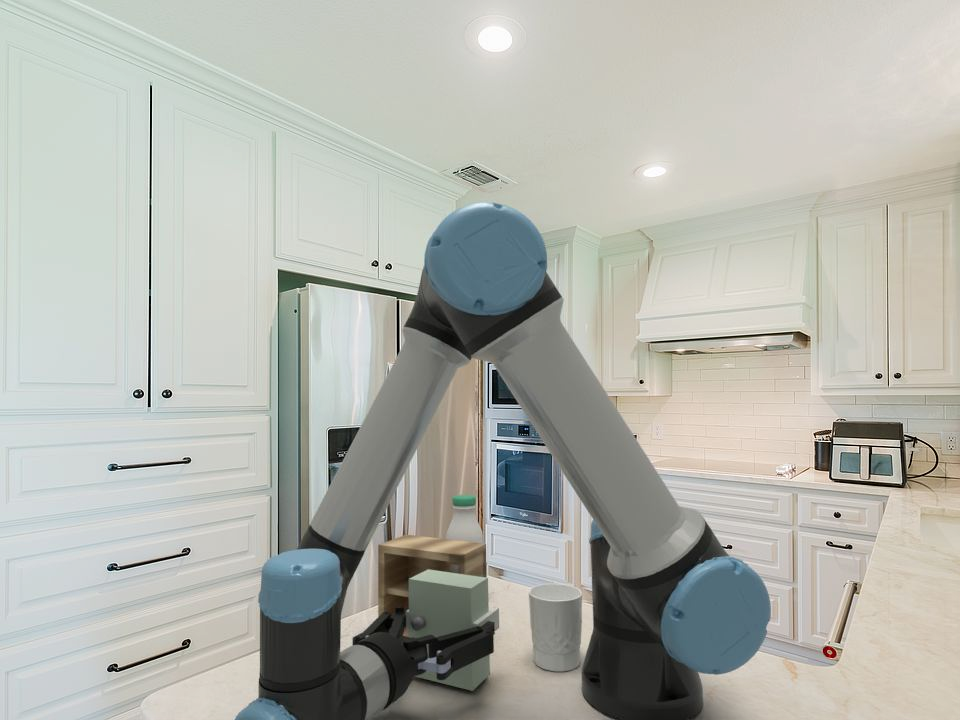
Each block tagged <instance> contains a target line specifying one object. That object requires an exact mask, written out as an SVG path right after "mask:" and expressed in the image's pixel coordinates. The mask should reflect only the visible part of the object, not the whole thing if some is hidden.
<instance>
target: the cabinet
mask: <svg viewBox="0 0 960 720" xmlns="http://www.w3.org/2000/svg"><path fill="white" fill-rule="evenodd" d="M377 548H378V549H377V550H378V551H377V552H378V553H377V555H378V556H377V557H378V558H377V560H378V561H377V565H378V566H377V568H378V569H377V570H378V572H377V575H378V576H377V585H378V586H377V594H378V595H377V599H378V600H377V605H378V606H377V609H378V610H377V613H378V614H377V616H378V617H379V616H380V615H381V614H382V613H383V612H385V611H389V612H391V615H395V608H396V607H398V606H403V607H404V612H405V611H407V610H408V609H409V579H410V578H412V577H414V576H416V575H418V574H420V573H422V572H424V571H426V570H428V569H429V570H436V571H443V572H450V573H457V574H464V575H471V576H478V577H485V578H488V577H487V575H488V574H487V543H485V542H484V543H476V542H467V541H458V540H449V539H446V538H440V537H432V536H431V537H429V536H423V535H422V536H421V535H415V534H414V535H412V534H404V535H401V536H399V537H395V538H393V539H390V540H388V541H385V542H384V541H383V542H382V543H379V544H377ZM378 617H377V618H378ZM403 636H406V637H409V631H406V627H404V634H403Z"/></svg>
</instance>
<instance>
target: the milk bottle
mask: <svg viewBox="0 0 960 720" xmlns="http://www.w3.org/2000/svg"><path fill="white" fill-rule="evenodd" d="M476 503H477V497H476V496H475V495H473V494H458V495H454V496H452V508H453V515H452V518H451V521H450V524H449V526H448V528H447V532H446V534H445V539H449V540H458V541H467V542H476V543H484V544H485V539H484V534H483V531H482V528H481V526H480V524H479V521H478V518H477V515H476V511H475V510H476V509H475V508H477V507H476V506H477V505H476Z"/></svg>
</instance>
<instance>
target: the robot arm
mask: <svg viewBox="0 0 960 720" xmlns="http://www.w3.org/2000/svg"><path fill="white" fill-rule="evenodd" d="M423 259H424V260H423V261H424V262H423V263H424V265H423V268H422V271H421V276H420V281H419V285H418V289H417V293H416V297H415V300H414V303H413V305H412V309H411V311H410V313H409V315H408V318H407V319H406V322H405V323H404V325H403V328H401V329H402V334H403V337H404V343H403V344H402V346H401V349H400V350H399V352H398V353H397V356H396V358H395V359H394V362H393V364H392V365H391V368H390V370H388V371H389V372H388V373H387V375H386V377H385V379H384V381H383V383H382V385H381V387H380V389H379V391H378V392H377V395H375V398H374V400H373V402H372V404H371V406H370V408H369V410H368V412H367V414H366V416H365V417H364V419H363V421H362V424H361V425H360V427H359V429H358V431H357V433H356V434H355V437H354V439H353V441H352V442H351V443H350V444H351V445H350V446H349V448H348V450H347V452H346V453H345V456H344V458H342V459H343V460H342V462H341V464H340V466H339V467H338V470H337V472H336V473H335V475H334V477H333V479H332V481H331V483H330V484H329V487H328V488H327V491H326V492H325V494H324V496H323V498H322V500H321V502H320V504H319V506H318V508H317V510H316V512H315V513H314V515H313V517H312V519H311V521H310V524H309V526H308V527H307V529H306V530H305V532H304V535H303V536H302V538H301V540H300V542H299V544H298V546H297V548H296V549H293V550H288V551H284V552H280V553H279V554H278V555H273V556H271V557H269V559H267V560H266V561H265V563H264V564H263V566H262V568H261V574H260V575H261V579H260V591H259V593H258V594H257V595H258V597H257V598H258V599H257V600H258V601H257V602H258V604H259V606H258V607H259V677H258V696H257V698H256V699H255V700H253V701H251V702H249V703H248V705H247V706H246V707H244V708H243V709H241V711H240V712H238V714H237V715H236V716H235V718H234V720H373V719H374V718H375V717H377V716H378V715H379V714H380V713H381V712H383V711H385V710H386V709H387V708H389V707H390V706H392V705H393V704H394V703H395V702H396V701H398V700H399V699H400V698H401V697H403V696H404V694H405V693H406V692H407V691H408V688H409V687H410V686H411V683H412V681H413V680H414V678H416V677H415V676H417V675H421V674H423V673H425V672H426V671H427V670H429V671H434V672H436V674H437V679H438V680H445V679H447V678H448V677H449V676H450V675H451V674H452V673H453V672H455V671H457V670H459V669H461V668H463V667H465V666H467V665H469V664H471V663H473V662H475V661H477V660H479V659H481V658H483V657H485V656H487V655H492V654H494V652H495V649H494V648H495V647H494V645H495V644H494V643H495V642H494V641H495V639H494V635H495V634H496V633H495V632H497V631H498V630H499V629H500V608H499V607H493V608H491V609H490V610H489V612H487V613H486V614H485V615H483V616H482V617H481V618H479V619H478V620H476V621H475V622H474V623H472V624H473V628H469V629H465V630H462V631H458V632H454V633H450V634H447V635H443V636H439V637H435V636H433V635H427V636H423V637H419V638H413V637H411V638H410V637H406V636H403V634H404V627H406V631H409V609H408V610H407V611H405V612H404V607H403V606H398V607H396V608H395V615H391V612H389V611H385V612H383V613H382V614H381V615H380V616H379V617H377V618H376V619H375V620H374V621H373V622H372V623H371V624H370V625H369V626H368V627H367V628H366V629H365V630H364V631H363V632H361V633H358V634H356V635H355V636H353V637H352V645H351V646H348V647H346V648H345V649H343V650H341V633H342V632H341V631H342V630H341V627H342V625H341V624H342V612H343V609H344V603H345V601H346V596H347V592H348V591H347V590H348V588H349V585H350V584H351V581H352V579H353V577H354V575H355V573H356V571H357V569H358V568H359V565H360V563H361V561H362V560H363V557H364V555H365V552H366V550H367V549H368V546H369V544H370V543H371V541H372V538H373V536H374V534H375V533H376V530H377V528H378V526H379V525H380V523H381V521H382V519H383V517H384V514H385V513H386V511H387V509H388V507H389V506H390V502H391V501H392V498H393V497H394V496H395V495H394V494H395V493H396V491H397V489H398V487H399V485H400V483H401V481H402V480H403V477H404V476H405V473H406V472H407V469H408V467H409V466H410V464H411V461H412V459H413V458H414V456H415V454H416V451H417V450H418V448H419V446H420V444H421V443H422V439H423V438H424V436H425V434H426V432H427V430H428V428H429V427H430V424H431V422H432V420H433V418H434V416H435V414H436V412H437V410H438V409H439V406H440V405H441V402H442V400H443V398H444V397H445V394H446V392H447V390H448V389H449V387H450V385H451V383H452V381H453V379H454V377H455V375H456V373H457V371H458V369H459V368H462V367H465V366H467V365H469V364H470V362H471V361H472V359H475V360H478V361H483V362H488V363H490V364H492V365H493V366H494V367H495V370H496V371H497V372H498V374H499V376H500V378H501V379H502V380H503V381H504V383H505V384H506V386H507V388H508V389H509V391H510V393H511V394H512V397H514V399H515V400H516V402H517V404H518V406H520V408H521V410H522V412H523V413H524V415H525V416H526V417H527V419H528V421H529V422H530V423H531V425H532V427H533V428H534V430H535V432H536V433H537V435H538V436H539V438H540V439H541V441H542V443H543V444H544V446H545V447H546V449H547V450H548V452H549V453H550V455H551V456H552V458H553V460H554V461H555V462H556V464H557V466H558V467H559V469H560V471H562V473H563V475H564V477H565V478H566V479H567V482H568V483H569V484H570V485H571V487H572V489H573V491H574V492H575V493H576V495H577V497H578V499H579V500H580V501H581V503H582V504H583V506H584V507H585V509H586V511H587V512H588V514H589V515H590V517H591V519H592V521H591V523H590V538H589V539H588V541H589V544H590V564H591V565H590V566H591V567H590V569H591V571H590V572H591V593H592V619H593V620H592V621H593V629H592V633H591V636H590V640H589V643H588V646H587V650H586V654H585V657H584V661H583V664H582V666H581V673H580V674H581V693H582V695H583V696H584V698H585V699H586V701H587V702H588V703H589V704H590V705H592V706H593V707H594V708H595V709H597V710H598V711H599V712H602V713H604V714H606V715H607V716H610V717H612V718H615V719H618V720H687V719H689V720H691V719H693V718H694V716H695V715H696V716H697V715H698V714H700V712H701V711H702V708H703V707H704V706H703V705H704V696H703V694H704V693H703V683H702V679H701V676H700V674H705V675H723V674H727V673H730V672H731V673H732V672H733V671H736V670H738V669H740V668H741V667H743V666H744V665H745V664H747V663H748V662H749V661H750V660H752V658H754V656H755V655H756V654H757V652H758V651H759V650H760V648H761V647H762V645H763V643H764V642H765V639H766V637H767V634H768V630H767V626H768V624H769V622H770V621H771V617H772V616H771V613H772V612H771V611H772V607H771V605H772V604H771V600H770V599H771V598H770V595H769V591H768V588H767V587H766V585H765V582H764V580H763V579H762V577H760V575H759V574H758V573H757V572H756V571H755V570H754V569H753V568H752V567H750V566H749V565H748V563H746V562H744V560H742V559H741V558H740V559H739V558H737V557H735V556H730V554H728V553H727V551H726V550H725V549H724V547H723V545H722V544H721V542H720V541H719V540H718V539H719V538H717V536H716V534H715V532H713V530H712V527H710V525H709V524H708V522H707V520H706V519H705V517H704V516H703V515H702V513H701V512H700V511H699V510H696V509H693V508H691V507H690V508H689V507H684V506H680V505H679V504H678V502H677V501H676V499H675V498H674V496H673V494H672V493H671V491H670V490H669V488H668V487H667V485H666V483H665V481H664V480H663V479H662V477H661V476H660V474H659V473H658V471H657V469H656V468H655V465H653V463H652V462H651V460H650V459H649V457H648V455H647V454H646V453H645V451H644V449H643V447H642V446H641V445H640V443H639V441H638V440H637V438H636V436H635V435H634V434H633V432H632V430H631V429H630V428H629V425H628V424H627V423H626V421H625V420H624V418H623V416H622V415H621V413H620V412H619V410H618V408H617V407H616V405H615V404H614V401H612V399H611V397H610V396H609V395H608V393H607V392H606V390H605V388H604V387H603V385H602V384H601V382H600V380H599V379H598V377H597V376H596V375H595V374H596V373H594V371H593V370H592V368H591V366H590V365H589V364H588V362H587V361H586V358H584V355H583V354H582V352H581V351H580V349H579V348H578V347H577V344H576V343H575V342H574V340H573V338H572V337H571V336H570V334H569V332H568V330H567V329H566V327H565V326H564V325H563V322H562V321H561V316H562V315H561V314H562V310H563V304H564V301H565V300H564V298H563V295H562V294H561V293H560V291H559V290H558V288H557V287H556V284H555V283H554V282H553V280H552V279H551V277H550V275H549V274H548V272H547V269H548V254H547V248H546V243H545V240H544V237H543V236H542V234H541V232H540V231H539V229H538V227H536V225H535V224H534V223H533V222H532V220H530V219H529V217H527V215H525V214H523V213H522V212H521V211H519V210H518V209H516V208H513V207H511V206H509V205H506V204H502V203H501V204H500V203H496V202H491V201H479V202H473V203H470V204H466V205H464V206H461V207H458V208H457V209H455V210H454V211H452V212H451V213H449V214H448V215H447V216H445V217H444V218H443V220H442V221H441V222H440V223H439V224H438V226H436V228H435V230H434V231H433V232H432V234H431V235H430V237H429V239H428V241H427V243H426V248H425V251H424V258H423ZM426 644H429V658H428V653H427V646H426ZM696 716H695V717H696ZM692 717H693V718H692ZM690 718H691V719H690Z"/></svg>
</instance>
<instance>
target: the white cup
mask: <svg viewBox="0 0 960 720" xmlns="http://www.w3.org/2000/svg"><path fill="white" fill-rule="evenodd" d="M528 601H529V602H528V603H529V604H528V605H529V618H530V619H529V620H530V621H529V622H530V630H531V641H532V654H533V655H532V656H533V661H534V663H535V665H536V666H538V667H539V668H541V669H543V670H546V671H551V672H563V673H564V672H568V671H573V670H574V669H577V667H579V665H580V663H581V645H582V625H583V624H582V623H583V621H582V619H583V616H582V615H583V614H582V613H583V591H582V590H581V589H580V588H578V587H576V586H573V585H569V584H564V583H554V582H552V583H542V584H537V585H534V586H532V587H530V588H529V589H528Z"/></svg>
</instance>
